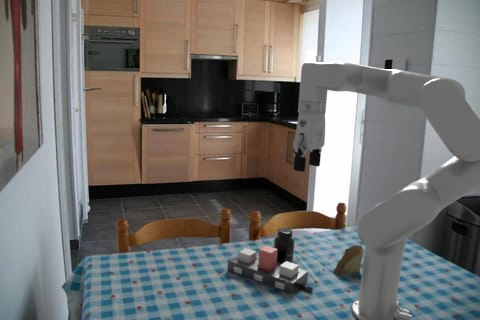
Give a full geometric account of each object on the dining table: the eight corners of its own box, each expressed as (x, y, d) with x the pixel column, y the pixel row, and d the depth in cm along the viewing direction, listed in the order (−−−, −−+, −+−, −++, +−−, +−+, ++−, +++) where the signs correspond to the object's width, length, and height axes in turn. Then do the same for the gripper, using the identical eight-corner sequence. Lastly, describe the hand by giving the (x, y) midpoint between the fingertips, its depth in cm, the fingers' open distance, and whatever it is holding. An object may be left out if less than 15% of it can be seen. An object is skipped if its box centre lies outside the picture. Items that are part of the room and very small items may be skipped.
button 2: (276, 267, 134) (277, 249, 133) (269, 271, 131) (271, 253, 130) (264, 263, 137) (266, 245, 136) (258, 267, 134) (259, 249, 132)
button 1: (297, 283, 131) (298, 265, 130) (290, 288, 128) (292, 269, 126) (284, 279, 133) (286, 261, 132) (278, 284, 130) (279, 265, 129)
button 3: (255, 268, 139) (256, 251, 138) (248, 273, 136) (249, 255, 135) (244, 265, 141) (245, 248, 140) (237, 269, 138) (238, 251, 137)
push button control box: (318, 287, 130) (320, 275, 129) (303, 300, 122) (305, 287, 121) (245, 261, 145) (245, 250, 144) (227, 272, 137) (227, 260, 136)
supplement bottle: (291, 269, 141) (294, 235, 139) (271, 267, 142) (273, 232, 140) (293, 261, 148) (296, 228, 145) (273, 258, 149) (276, 225, 146)
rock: (336, 274, 135) (368, 270, 135) (331, 247, 138) (362, 244, 139) (330, 280, 144) (359, 277, 145) (325, 254, 148) (354, 251, 148)
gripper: (310, 110, 110) (305, 175, 113) (336, 107, 124) (331, 165, 128) (285, 107, 114) (280, 170, 118) (313, 105, 128) (308, 161, 132)
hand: (306, 168), depth 123 cm, fingers open, 9 cm apart
